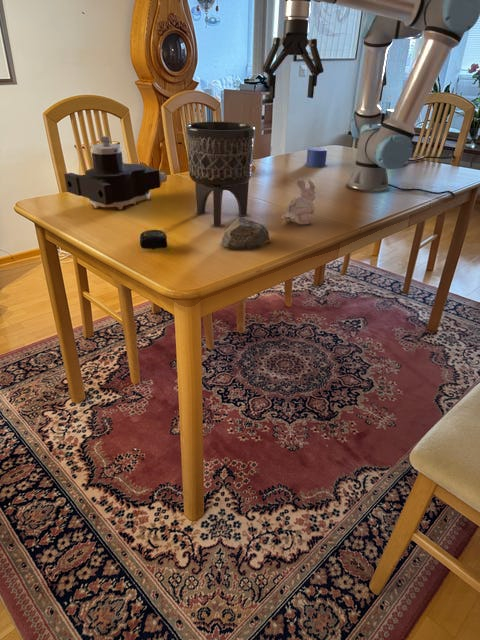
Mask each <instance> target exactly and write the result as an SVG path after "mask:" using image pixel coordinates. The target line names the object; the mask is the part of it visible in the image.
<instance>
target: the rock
mask: <svg viewBox="0 0 480 640" xmlns="http://www.w3.org/2000/svg"><path fill="white" fill-rule="evenodd" d="M269 241H270V233H269V230H268V229H267V228H266V226H265V225H263V224H261V223H259V222H256V221H255V220H252V219H247V218H245V217H241V216H238V217H237V218H236V219H235V221H234V222H233V223H232V224H231V225H229V226H228V227H227V228H226V229H225V231H224V233H223V236H222V239H221V244H222V247H224V248H229V249H231V250H245V249H254V248H257V247H259V246H260V245H264V244H266V242H269Z"/></svg>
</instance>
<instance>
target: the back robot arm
mask: <svg viewBox="0 0 480 640" xmlns="http://www.w3.org/2000/svg"><path fill="white" fill-rule="evenodd" d="M423 32H424V31H421V30H418V29H415V28H412V27H409V26H405V25H404V22H403V21H400V20H396V19H392V18H388V17H384V16H380V15H376V14H372V13H368V12H365V16H364V21H363V25H362V29H361V33H360V39H361V40H363V46H364V47H365V51H366V52H365V59H364V65H363V66H364V67H363V73H362V82H361V89H360V99H359V105H357V106H356V107H355V110H354V111H352V113H351V117H350V118H351V120H350V132H351V136H352V138H354V139H359V134H360V131H361V127H362V126H363V125H382V123H383V121H385V120H387V119H389V118H390V117H391V114H392V112H393V110H394V109H386V110H385V112H382V108H381V106H380V102H381V101H382V98H383V91H384V88H385V86H387V64H386V61H387V58H388V51H389V48H390V47H391V46H392V44H393V40H421V38H422V37H423ZM449 158H453V159H455V158H456V156H455V155H454V154H449V155H448V156H433V155H426V156H421V157H420V158H413V159H409V160H408V161H407V162H406V163H405V164H404V165H403V166H402V167H404V166H406V165H407V163H408V162H417V161H422V160H423V159H439V160H447V159H449Z"/></svg>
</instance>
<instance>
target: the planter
mask: <svg viewBox="0 0 480 640" xmlns="http://www.w3.org/2000/svg"><path fill="white" fill-rule="evenodd" d="M255 132H256V127H255V126H254V125H253V124H251V123H244V122H236V121H197V122H191V123H187V124H186V125H185V137H186V139H185V141H186V151H187V164H188V176H189V177H190V180H191V181H192V182H194V183H195V185H194V186H195V200H196V213H197V214H201V215H202V214H205V213H206V205H207V201H208V198H209V196H210V195H211V194H212V200H213V201H212V203H213V205H212V206H213V227H221V225H222V205H223V194H224V191H227V192H230V193H231V194H233V196H234V198H235V200H236V202H237V203H236V204H237V206H238V215H240V216H243V217H244V216H247V215H248V214H247V213H248V202H249V201H248V199H249V185H250V180H251V177H252V173H253V172H252V160H254V159H253V158H254V145H255V134H256V133H255Z"/></svg>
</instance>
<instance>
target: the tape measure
mask: <svg viewBox="0 0 480 640" xmlns="http://www.w3.org/2000/svg"><path fill="white" fill-rule="evenodd" d="M167 236H168V235H167V234H166V232H165V231H164V230H161V229H147V230H144V231H143V232H141V233H140V235H139V240H140V241H139V245H140V246H139V247H141V248H142V249H146V250H157V249H167V248H168V240H167V239H168V237H167Z"/></svg>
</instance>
